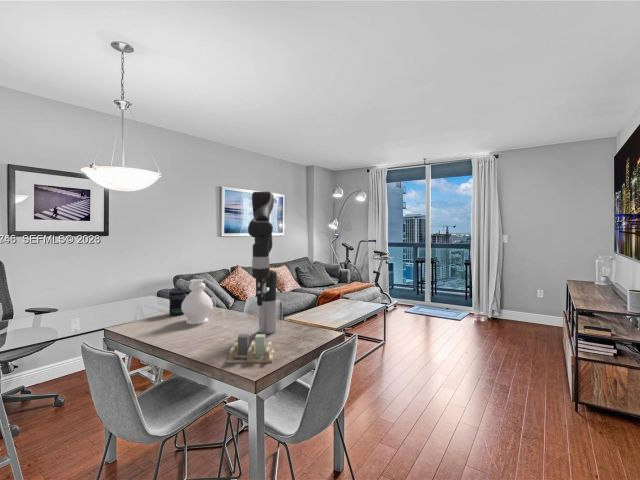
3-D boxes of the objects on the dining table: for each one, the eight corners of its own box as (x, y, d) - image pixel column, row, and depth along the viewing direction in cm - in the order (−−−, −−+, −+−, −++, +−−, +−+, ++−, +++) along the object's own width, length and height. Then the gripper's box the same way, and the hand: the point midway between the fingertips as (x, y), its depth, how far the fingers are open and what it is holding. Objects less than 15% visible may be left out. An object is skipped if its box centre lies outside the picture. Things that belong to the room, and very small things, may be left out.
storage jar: (187, 314, 216) (186, 291, 216) (170, 316, 211) (170, 293, 210) (184, 311, 225) (183, 289, 224) (168, 313, 219) (167, 290, 219)
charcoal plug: (239, 352, 149) (239, 334, 149) (248, 352, 150) (248, 334, 149) (237, 355, 145) (237, 337, 145) (247, 355, 146) (247, 337, 145)
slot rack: (233, 350, 155) (233, 340, 155) (275, 349, 156) (275, 339, 155) (225, 363, 140) (225, 352, 140) (271, 362, 141) (271, 352, 140)
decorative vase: (188, 317, 211) (188, 277, 210) (216, 317, 211) (216, 277, 210) (176, 325, 193) (175, 282, 192) (207, 325, 193) (207, 282, 192)
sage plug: (256, 352, 150) (256, 334, 149) (265, 351, 150) (265, 334, 150) (255, 355, 146) (255, 337, 145) (264, 355, 146) (264, 337, 146)
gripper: (254, 264, 155) (254, 299, 155) (249, 268, 140) (249, 307, 141) (270, 264, 155) (271, 299, 156) (267, 268, 141) (267, 307, 142)
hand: (261, 303), depth 149 cm, fingers open, 8 cm apart
